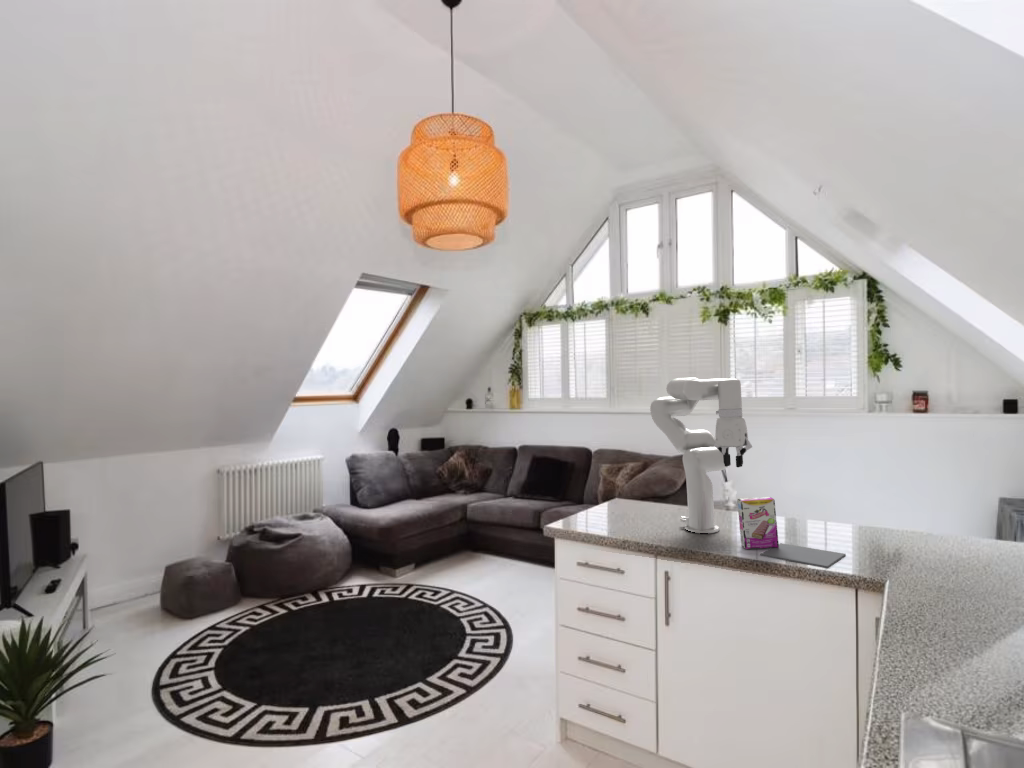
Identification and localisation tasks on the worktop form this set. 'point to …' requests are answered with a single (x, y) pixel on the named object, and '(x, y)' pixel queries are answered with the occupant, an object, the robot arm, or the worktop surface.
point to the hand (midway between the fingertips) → (733, 465)
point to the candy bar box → (757, 523)
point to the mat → (804, 555)
